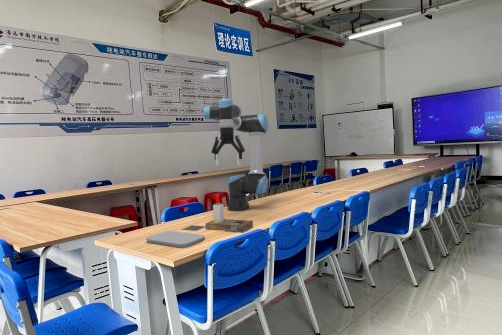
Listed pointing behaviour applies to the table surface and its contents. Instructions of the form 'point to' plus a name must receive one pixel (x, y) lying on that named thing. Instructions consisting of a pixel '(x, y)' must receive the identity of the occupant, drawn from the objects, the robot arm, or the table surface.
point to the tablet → (175, 239)
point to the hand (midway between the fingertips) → (228, 165)
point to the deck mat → (193, 228)
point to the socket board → (230, 225)
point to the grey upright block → (218, 212)
